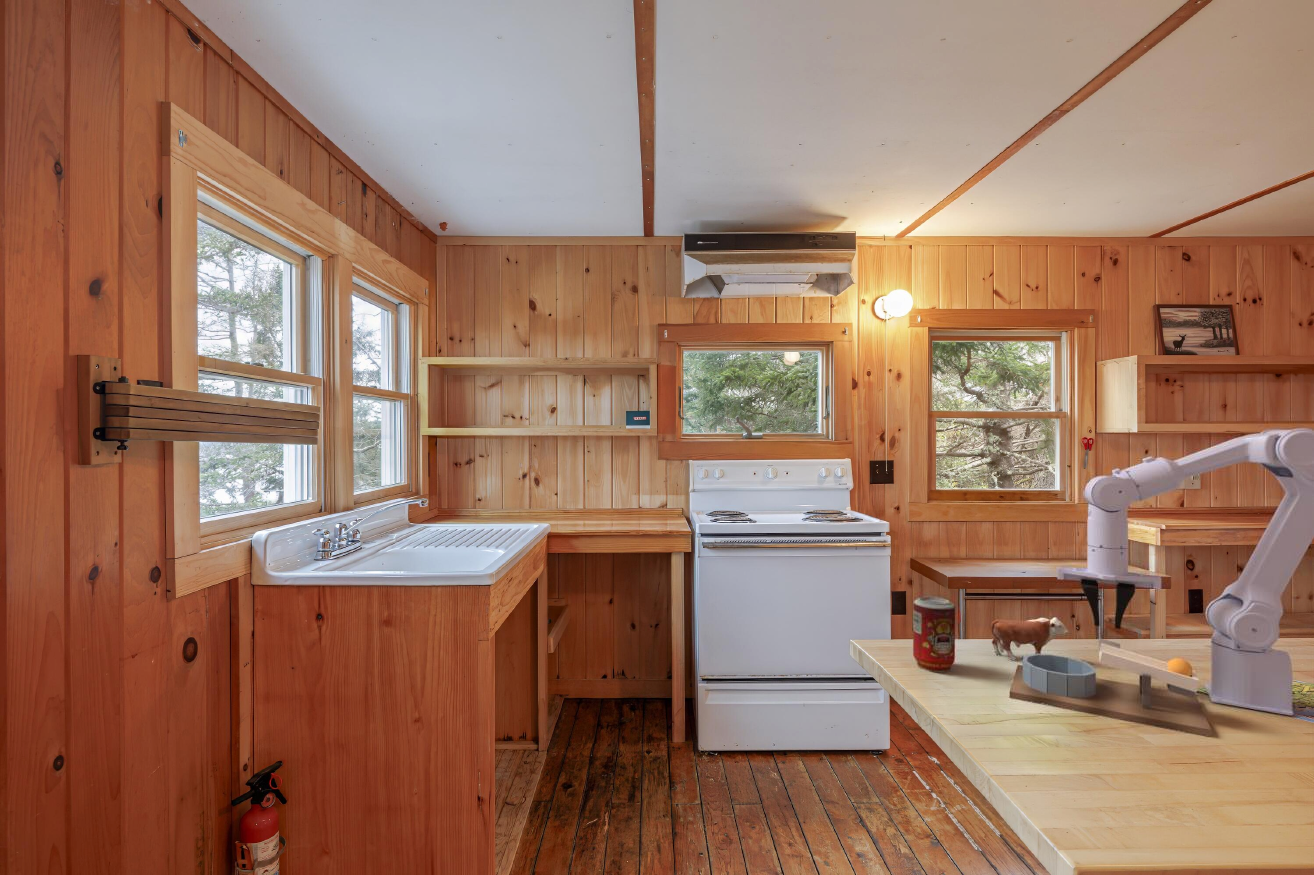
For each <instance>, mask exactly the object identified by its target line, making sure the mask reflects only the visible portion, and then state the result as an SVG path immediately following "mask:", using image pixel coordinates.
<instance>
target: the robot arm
mask: <svg viewBox="0 0 1314 875" xmlns="http://www.w3.org/2000/svg"><path fill="white" fill-rule="evenodd" d="M1240 463H1254V464H1255V463H1256V464H1259V465H1260V466H1261V467H1262V468H1264V469H1266V470H1267V471H1269V472H1270V473H1271V474H1272V475H1274V477H1275V479H1277V481H1278V483H1279V484H1280V486H1281V487H1282V489H1283V490H1284V491H1285V494H1284V496H1283V498H1282V500H1281V501H1280V503H1279V505H1278V507H1277V508H1276V511H1275V512H1274V514H1273V516H1272V518H1271V519H1270V522H1269V523H1268V524H1267V526H1266V529H1265V530H1264V532H1263V534H1262V536H1261V538H1260V540H1259V541H1258V544H1256V547H1255V548H1254V550H1253V552H1252V554H1251V555H1250V558H1249V560H1248V562H1247V563H1246V565H1245V567H1244V569H1242V572H1241V574H1240V575H1239V578H1238V579H1237V580H1236V581H1234V582H1233V583H1231V584H1229V585H1228V586H1226V587H1225V589H1224V591H1223V592H1222V594H1220V596H1218V597H1217V598H1216V599H1213V600H1212V601H1210V602H1209V603H1208V605H1207V607H1206V608H1205V620H1206V622H1207V623H1208V624H1209V626H1210V627H1211V628H1212V629H1213V630H1214V631H1213V633H1212V635H1211V636H1210V637H1211V638H1210V639H1211V641H1210V642H1211V643H1210V644H1211V645H1210V646H1211V647H1210V648H1211V650H1210V654H1211V655H1210V657H1211V658H1210V661H1211V662H1210V668H1211V670H1210V677H1211V678H1210V681H1211V682H1210V684H1209V683H1208V684H1207V683H1206V684H1204V689H1205V690H1206V693H1207V695H1208V696H1209V698H1210V700H1211V702H1213V703H1217V704H1223V705H1228V706H1233V707H1240V708H1246V709H1252V710H1257V711H1263V712H1269V713H1274V714H1281V715H1284V716H1285V715H1286V716H1294V711H1293V666H1292V660H1291V656H1290V654H1289V653H1288V652H1287V651H1285V650H1280V649H1275V648H1272V646H1274V645H1275V644H1276V643H1277V641H1278V639H1279V636H1280V625H1279V624H1280V620H1281V618H1282V616H1283V615H1284V607H1283V605H1282V601H1281V600H1282V599H1281V597H1282V594H1283V593H1284V591H1285V589H1286V588H1287V585H1288V584H1289V582H1290V580H1291V579H1292V577H1293V575H1294V574H1295V571H1296V570H1297V568H1298V565H1300V563H1301V561H1302V559H1303V557H1304V556H1305V554H1306V552H1307V550H1308V548H1309V546H1310V545H1311V543H1312V541H1313V540H1314V429H1311V428H1307V427H1306V428H1305V427H1302V428H1295V429H1279V428H1278V429H1277V428H1275V429H1274V428H1272V429H1266V430H1263V431H1262V432H1260V433H1251V434H1246V435H1243V436H1239V437H1235V438H1232V439H1229V440H1226V441H1224V442H1221V443H1219V444H1216V445H1213V446H1211V447H1208V448H1205V449H1203V450H1200V451H1199V450H1198V451H1196V452H1194V453H1191V454H1188V455H1186V456H1184V457H1181V458H1177V459H1176V460H1175V459H1174V460H1171V459H1167V458H1165V457H1161V456H1160V457H1156V458H1155V457H1153V456H1148V457H1145V458H1143V459H1142V463H1139V464H1136V465H1133V466H1130V467H1127V468H1124V469H1120V468H1114V469H1112V470H1111V472H1112V475H1099V476H1095V477H1093V478H1091V479H1090V480H1089V482H1087V484H1086V485H1085V488H1084V490H1082V491H1083V492H1082V494H1083V497H1084V500H1085V501H1086V502H1087V503H1088V508H1087V513H1088V514H1087V515H1088V517H1087V523H1086V525H1087V526H1086V527H1087V530H1086V531H1087V533H1086V534H1087V535H1086V536H1087V538H1086V541H1087V542H1086V543H1087V549H1086V551H1087V555H1086V556H1087V565H1086V566H1087V567H1069V566H1068V567H1067V566H1057V569H1056V571H1057V576H1056V577H1057V578H1056V579H1057V580H1062V581H1064V580H1071V581H1080V587H1081V589H1082V591H1083V593H1084V594H1085V597H1086V599H1087V601H1088V604H1089V607H1090V610H1091V613H1092V616H1093V622H1094V623H1093V624H1094V626H1096V627H1100V611H1099V583H1100V584H1109V585H1115V598H1116V599H1115V602H1116V603H1115V605H1116V606H1115V614H1114V616H1115V617H1114V628H1115V629H1118V630H1121V626H1122V621H1123V619H1124V618H1123V617H1124V614H1125V611H1126V609H1127V607H1128V605H1129V604H1130V602H1131V600H1132V598H1133V597H1134V595H1135V593H1136V587H1137V588H1148V589H1153V590H1159V591H1161V590H1162V577H1161V576H1160V575H1153V574H1152V575H1150V574H1143V573H1138V572H1137V573H1136V572H1131V571H1129V520H1128V508H1129V507H1130V506H1131V505H1132V504H1133V502H1134V503H1139V502H1142V501H1145V500H1148V499H1150V498H1154V497H1157V496H1160V495H1163V494H1166V493H1169V492H1173V491H1176V490H1179V488H1180V486H1181V485H1182V483H1183V481H1184V480H1185V479H1187V478H1190V477H1195V476H1198V475H1200V474H1204V473H1208V472H1212V471H1215V470H1219V469H1222V468H1225V467H1228V466H1229V467H1230V466H1231V465H1236V464H1240Z"/></svg>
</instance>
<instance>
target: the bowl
mask: <svg viewBox="0 0 1314 875" xmlns="http://www.w3.org/2000/svg"><path fill="white" fill-rule="evenodd" d="M1022 666H1023V682H1024V683H1025V684H1027V685H1028V686H1029V687H1031V688H1033V689H1036V690H1039V691H1042V692H1045V693H1048V694H1053V695H1058V696H1063V697H1076V698H1086V697H1090V696H1093V695H1096V678H1097V676H1096V675H1097V674H1096V673H1097V672H1096V671H1097V670H1096V669H1097V668H1096V667H1095V666H1093V665H1091V664H1089V663H1088V662H1086V661H1083V660H1080V659H1076V658H1073V657H1069V656H1063V655H1058V654H1051V653H1049V654H1048V653H1041V654H1035V653H1032V654H1028V655H1024V656H1023V657H1022Z"/></svg>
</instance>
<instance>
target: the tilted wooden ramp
mask: <svg viewBox="0 0 1314 875" xmlns="http://www.w3.org/2000/svg"><path fill="white" fill-rule="evenodd" d="M1098 656H1099V657H1098V658H1099V661H1098V662H1099V663H1100V664H1102V665H1106V666H1110V667H1112V668H1116V669H1118V670H1123V671H1125V672H1128V673H1132V674H1135V675H1138V676H1140V675H1141V676H1142V674H1147V675H1151V680H1155V681H1158V682H1162V683H1165V684H1166V687H1167V690H1169V691H1171V692H1174V693H1177V694H1180V695H1184V696H1187V697H1190V698H1193V699H1194V696H1195V695H1196V693H1197V690H1198V688H1199V687H1198V686H1199V684H1200V679H1199V678H1198V676H1197V673H1196V671H1195V670H1193V669H1192V670H1193V672H1192V675H1191V676H1190V677H1188V676H1185V675H1182V674H1178V673H1175V672H1171V671H1168V668H1167V665H1168V662H1167V661H1163V660H1160V659H1156V658H1154V657H1149V656H1146V655H1142V654H1139V653H1136V652H1134V651H1133V652H1132V651H1130V650H1126V649H1122V648H1121V644H1120V643H1117V642H1113V641H1111V640H1108V639H1104V638H1101V637H1099V638H1098Z"/></svg>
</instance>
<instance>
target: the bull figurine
mask: <svg viewBox="0 0 1314 875" xmlns="http://www.w3.org/2000/svg"><path fill="white" fill-rule="evenodd" d="M990 632H991V634H992V636H993V639H992V641H991V644H992V647H993V653H994V654H995V655H996V654H999V655H1001V656H1002V653H1004V651H1005V652H1006V653H1007V656H1008V659H1011V660H1012V659H1014V660H1013V661H1018V658H1017V657H1016V655H1014V653H1013V652H1012V649H1011V643H1013V644H1014V645H1015V646H1016V648H1017V649H1018V648H1020V647H1021V646H1022V645H1031V646H1033V648H1034V650H1035V651H1034V654H1042V648H1043V647H1045V646H1046V645H1048V643H1049V642H1050V641H1053V638H1054V637H1060V636H1061V635H1063V636H1068V635H1069V633H1070V632H1069V630H1068V629H1067V628H1066V626H1065V625H1064V623H1063V622H1062V621H1060V620H1059V618H1058V617H1053V618H1052V619H1048V618H1046V617H1040V618H1037V619H1029V620H1010V619H995V620H994V621H992V622H991V624H990Z"/></svg>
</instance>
